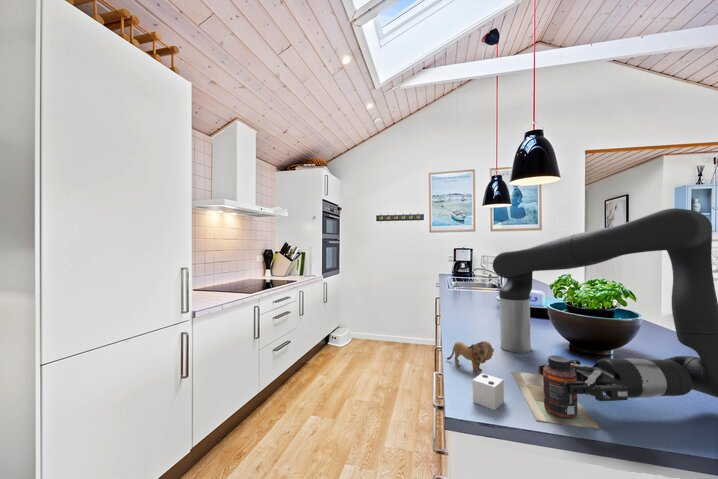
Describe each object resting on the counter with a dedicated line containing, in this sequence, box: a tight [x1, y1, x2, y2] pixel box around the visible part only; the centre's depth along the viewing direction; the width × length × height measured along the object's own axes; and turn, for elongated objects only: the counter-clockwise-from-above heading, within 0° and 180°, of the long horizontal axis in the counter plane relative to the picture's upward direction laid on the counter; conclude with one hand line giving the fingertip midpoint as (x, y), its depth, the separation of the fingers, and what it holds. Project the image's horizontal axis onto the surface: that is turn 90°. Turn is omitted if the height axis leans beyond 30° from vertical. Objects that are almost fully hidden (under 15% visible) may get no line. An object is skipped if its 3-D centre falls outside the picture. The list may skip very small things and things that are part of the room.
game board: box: [511, 371, 601, 430], centre depth 71 cm, size 11×24×1 cm, turn 164°
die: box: [472, 373, 505, 411], centre depth 69 cm, size 5×5×5 cm
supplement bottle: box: [543, 354, 578, 419], centre depth 64 cm, size 6×6×11 cm
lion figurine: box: [446, 340, 495, 375], centre depth 88 cm, size 15×5×9 cm, turn 40°
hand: (551, 378), depth 64 cm, fingers open, 8 cm apart
